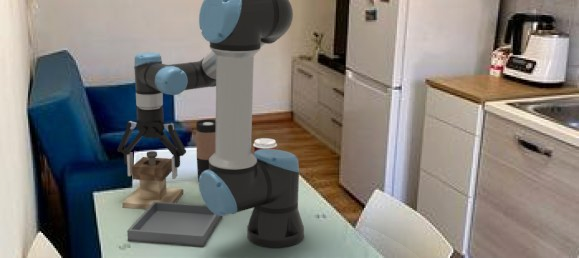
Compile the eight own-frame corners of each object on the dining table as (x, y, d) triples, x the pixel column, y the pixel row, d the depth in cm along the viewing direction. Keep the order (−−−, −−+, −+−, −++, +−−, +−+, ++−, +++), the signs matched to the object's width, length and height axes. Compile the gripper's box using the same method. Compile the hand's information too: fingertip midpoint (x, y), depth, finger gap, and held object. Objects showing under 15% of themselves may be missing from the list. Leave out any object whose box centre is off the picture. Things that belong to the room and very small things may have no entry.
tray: (222, 216, 181) (221, 206, 180) (203, 247, 162) (202, 236, 161) (154, 211, 183) (153, 201, 182) (127, 241, 164) (127, 230, 163)
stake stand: (183, 193, 197) (181, 147, 193) (168, 210, 184) (167, 161, 180) (139, 190, 199) (137, 144, 195) (122, 207, 185) (119, 158, 182)
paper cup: (273, 186, 204) (274, 145, 200) (250, 184, 205) (250, 143, 202) (278, 178, 211) (279, 138, 208) (256, 176, 213) (256, 136, 209)
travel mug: (194, 184, 205) (192, 124, 200) (201, 176, 212) (200, 118, 207) (217, 186, 204) (216, 126, 198) (223, 178, 211) (222, 120, 206)
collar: (172, 171, 193) (171, 158, 192) (162, 181, 184) (161, 168, 183) (143, 169, 194) (143, 156, 193) (132, 179, 185) (131, 166, 184)
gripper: (195, 105, 186) (197, 174, 191) (113, 101, 189) (117, 169, 194) (187, 111, 178) (189, 183, 184) (103, 107, 182) (107, 177, 187)
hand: (152, 176), depth 189 cm, fingers open, 13 cm apart
